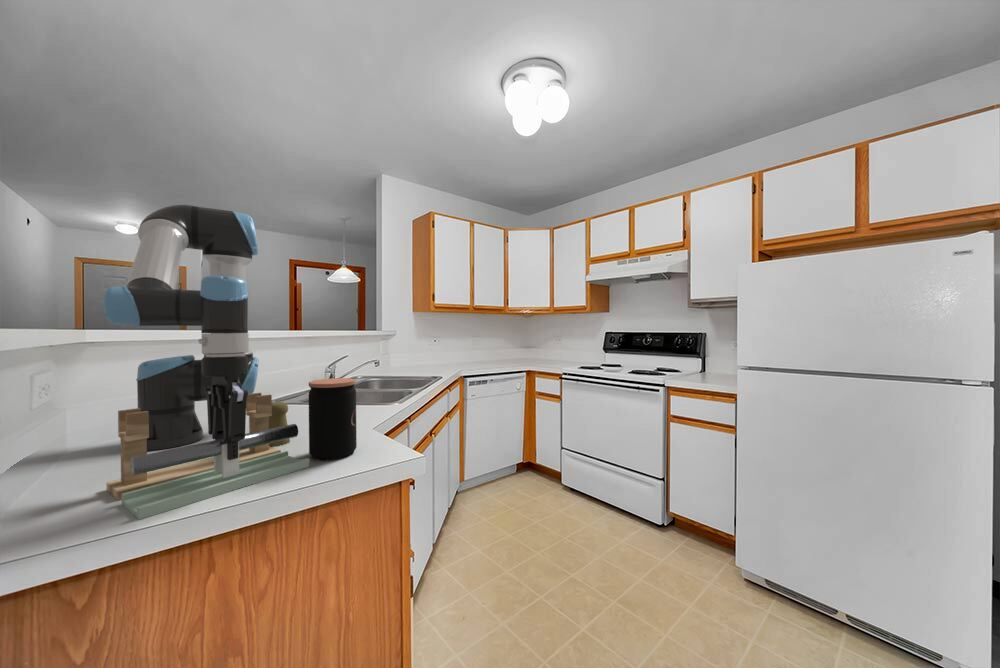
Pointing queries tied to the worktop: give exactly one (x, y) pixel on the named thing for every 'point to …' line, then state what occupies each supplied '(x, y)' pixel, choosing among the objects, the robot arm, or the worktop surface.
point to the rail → (207, 449)
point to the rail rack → (135, 444)
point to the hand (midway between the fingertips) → (226, 472)
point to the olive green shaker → (278, 420)
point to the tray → (207, 485)
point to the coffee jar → (332, 418)
